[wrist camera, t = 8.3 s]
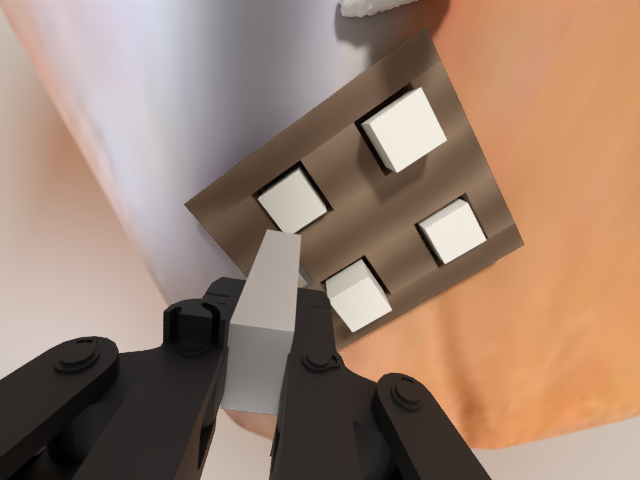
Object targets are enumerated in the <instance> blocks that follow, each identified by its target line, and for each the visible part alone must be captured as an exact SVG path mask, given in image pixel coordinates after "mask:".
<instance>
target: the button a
mask: <svg viewBox="0 0 640 480" xmlns="http://www.w3.org/2000/svg"><path fill="white" fill-rule="evenodd" d="M258 200H259V201H260V203H261V204H262V205H263V207H264V208H265V209H266V211H267V212H268V213H269V214H270V216H271V217H272V218H273V220H274V221H275V222H276V224H277V225H278V226H279V227H280V229H281V230H282V231H283V232H285V233H291V234H293V233H295V232H296V231H298V230H299V229H301V228H302V227H304V226H306V225H307V224H309V223H310V222H312V221H313V220H315V219H316V218H318V217H319V216H321V215H322V214H324V213H325V212H327V210H326V205H325V201H324V200H323V198H322V197H321V196H320V194H319V193H318V191H317V190H316V188H315V187H314V185H313V184H312V182H311V181H310V179H309V178H308V177H307V175H306V174H305V172H304V171H303V169H302V168H301V166H300V165H299V166H298V167H296V168H295V169H294V170H292V171H291V172H289V173H288V174H287V175H285V176H284V177H282V178H281V179H279V180H278V181H277V182H275V183H274V184H272V185H271V186H270V187H268V188H267V189H265V190H264V191H263V192H262V194H261V195H260V196H259V198H258Z"/></svg>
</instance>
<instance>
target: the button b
mask: <svg viewBox="0 0 640 480" xmlns="http://www.w3.org/2000/svg"><path fill="white" fill-rule="evenodd" d="M326 288H327V297H328V298H329V299H330V304H331V305H332V306H333V308H334V309H335V310H336V312H337V313H338V314H339V315H340V317H341V318H342V319H343V321H344V322H345V323H346V324H347V326H348V327H349V328H350V330H351V331H352V332H355V331H356V330H358V329H360V328H362V327H364V326H365V325H367V324H369V323H371V322H372V321H374V320H376V319H378V318H379V317H381V316H383V315H385V314H386V313H388V312H390V311H392V309H391V307H390V304H389V302H388V300H387V298H386V296H385V294H384V291H383V289H382V288H381V286H380V285H379V284H378V282H377V281H376V279H375V278H374V276H373V275H372V273H371V272H370V270H369V269H368V267H367V266H366V265H365V263H364V262H363V260H362V259H360V260H359V261H357V262H355V263H354V264H352V265H350V266H349V267H347V268H346V269H344V270H342V271H341V272H339V273H337V274H336V275H334V276H333V277H331V278H329V279H328V280H326Z"/></svg>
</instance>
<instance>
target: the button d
mask: <svg viewBox="0 0 640 480" xmlns="http://www.w3.org/2000/svg"><path fill="white" fill-rule="evenodd" d="M416 226H417V228H418V230H419V231H420V233H421V235H422V236H423V238H424V240H425V242H426V243H427V245H428V247H429V248H430V250H431V251H432V252H433V253H434V254H435V255H436V256H437V257H438V258H439V259H440V260H441V261H442V262H443V263H444V264H446V263H448V262H450V261H452V260H453V259H455V258H457V257H459V256H460V255H462V254H464V253H465V252H467V251H469V250H471V249H472V248H474V247H476V246H478V245H479V244H481V243H483V242H484V241H486V238H485V236H484V234H483V232H482V230H481V228H480V226H479V224H478V222H477V220H476V218H475V216H474V214H473V212H472V210H471V208H470V206H469V204H468V203H467V202H465V201H463V200H461V199H458V198H456V199H454V200H453V201H451V202H450V203H448V204H446V205H445V206H443V207H441V208H440V209H438V210H437V211H435V212H433V213H432V214H430V215H428V216H427V217H425V218H424V219H422V220H420V221H419V222H417V223H416Z"/></svg>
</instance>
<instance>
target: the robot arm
mask: <svg viewBox="0 0 640 480" xmlns="http://www.w3.org/2000/svg"><path fill="white" fill-rule="evenodd" d="M300 245H301V235H297V234H291V233H285V232H280V231H274V230H268V229H267V231H266V234H265V236H264V239H263V241H262V244H261V246H260V249H259V251H258V254H257V256H256V259H255V261H254V264H253V266H252V269H251V271H250V274H249V276H248V279H247V281H246V280H239V279H233V278H226V277H221V278H219V279H218V280H216V281H215V282H213V283H211V285H210V286H209V288H208V290H207V291H206V294H205V295H204V296H203V298H202V299H189V300H183V301H180V302H177V303H175V304H172V305H171V306H169V307H168V308H167V309H166V310H165V311H164V317H163V323H164V324H163V343H162V345H161V346H160V347H157V348H154V349H150V350H144V351H136V352H126V353H119V351H118V348H117V346H116V344H115V342H113V341H111V340H109V339H108V338H103V337H97V336H92V337H80V338H76V339H73V340H70V341H65V342H63V343H61V344H59V345H57V346H55V347H53V348H51V349H49V350H47V351H46V352H44V353H42V354H41V355H40V356H38V357H36V358H34V359H33V360H31V361H30V362H28V363H26V364H25V365H23V366H22V367H20V368H18V369H17V370H15V371H14V372H12V373H11V374H9V375H7V376H6V377H4V378H3V379H1V380H0V480H200V478H201V475H202V471H203V468H204V464H205V461H206V458H207V455H208V452H209V448H210V445H211V442H212V439H213V435H214V432H215V426H216V416H217V412H218V409H219V406H220V403H221V409H227V410H236V411H246V412H255V413H264V414H274V415H278V418H277V424H276V429H275V434H274V439H273V444H272V450H271V454H270V456H272V459H271V468H270V476H269V480H492V479H491V478H490V476H489V475H488V474H487V472H486V471H485V469H484V468H483V466H482V465H481V464H480V462H479V461H478V460H477V458H476V457H475V455H474V454H473V452H472V451H471V449H470V448H469V447H468V445H467V444H466V442H465V441H464V439H463V438H462V437H461V435H460V434H459V432H458V431H457V429H456V428H455V427H454V425H453V424H452V422H451V421H450V420H449V418H448V417H447V415H446V414H445V412H444V411H443V410H442V408H441V407H440V405H439V404H438V402H437V401H436V400H435V398H434V397H433V395H432V394H431V393H430V392H429V391H428V389H427V388H426V387H425V386H424V385H423V384H421V383H420V382H418V381H417V380H416V379H414V378H412V377H410V376H407V375H405V374H401V373H389V374H385V375H383V376H382V377H381V378H380V379H379V380H378V383H376V382H374V381H371V380H369V379H366V378H364V377H361V376H359V375H357V374H355V373H353V372H352V371H351V370H349V369H348V368H346V367H345V364H344V362H343V359H342V357H341V356H340V355H339V354H338V352H337V351H336V345H335V337H334V329H333V320H332V312H331V304H330V299H329V298H328V297H327V295H326V294H325V293H324V291H319V290H312V289H306V288H299V287H298V273H299V259H300ZM221 400H222V401H221Z"/></svg>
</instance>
